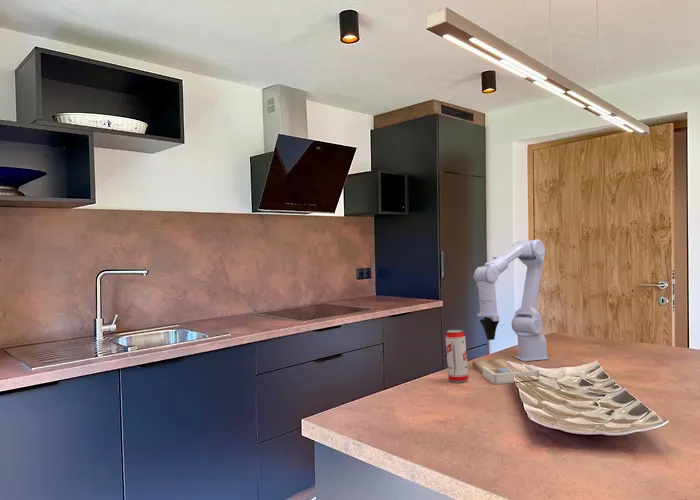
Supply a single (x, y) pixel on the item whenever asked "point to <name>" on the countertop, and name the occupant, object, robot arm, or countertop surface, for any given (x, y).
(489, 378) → the tray
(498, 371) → the tile rear
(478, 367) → the board
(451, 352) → the beer can
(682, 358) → the countertop surface
